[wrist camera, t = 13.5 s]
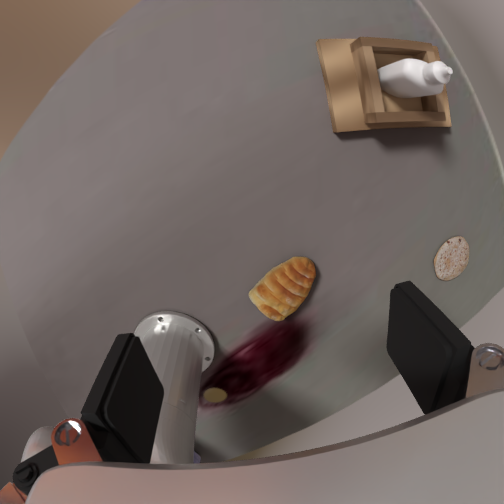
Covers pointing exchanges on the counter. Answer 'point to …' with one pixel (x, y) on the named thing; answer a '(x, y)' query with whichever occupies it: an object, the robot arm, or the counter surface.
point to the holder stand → (376, 85)
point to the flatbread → (451, 258)
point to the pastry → (284, 288)
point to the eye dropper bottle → (413, 78)
